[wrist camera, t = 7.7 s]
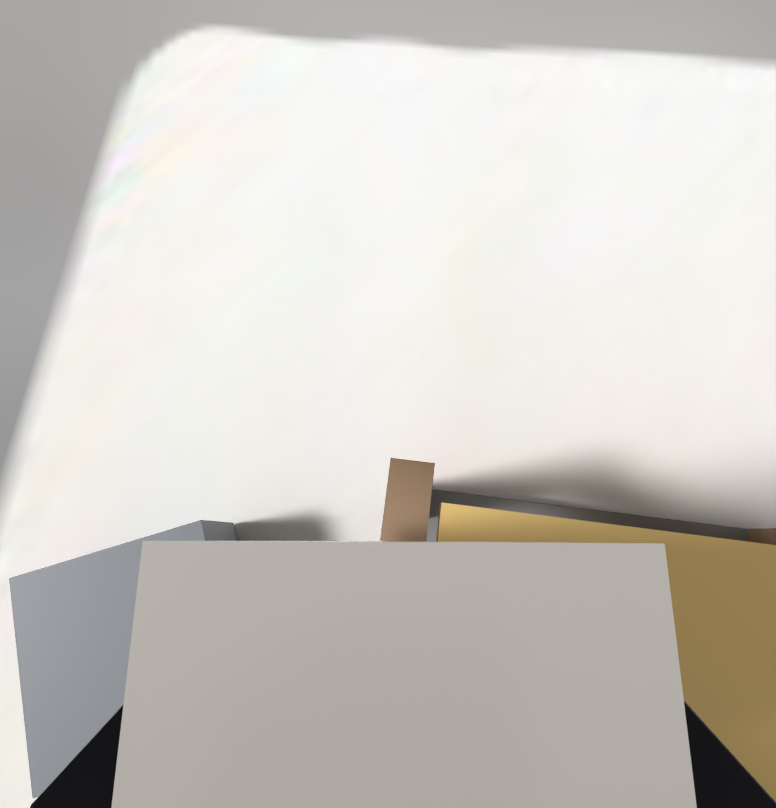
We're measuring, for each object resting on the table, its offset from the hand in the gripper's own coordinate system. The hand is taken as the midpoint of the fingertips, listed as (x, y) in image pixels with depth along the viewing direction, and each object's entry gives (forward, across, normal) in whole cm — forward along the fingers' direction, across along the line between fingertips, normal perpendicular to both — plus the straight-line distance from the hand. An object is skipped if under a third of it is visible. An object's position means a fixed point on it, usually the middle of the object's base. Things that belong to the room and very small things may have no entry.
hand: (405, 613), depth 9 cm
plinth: (+8, +10, +11) cm, 17 cm away
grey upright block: (+1, 0, +3) cm, 3 cm away
